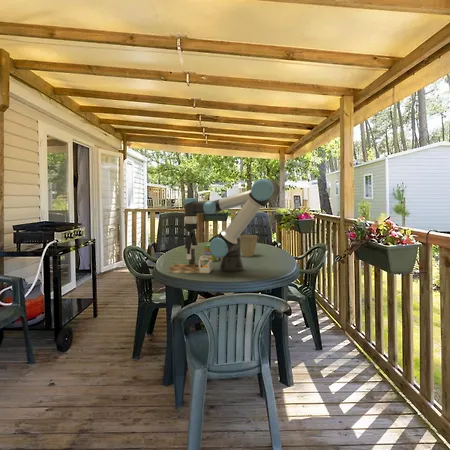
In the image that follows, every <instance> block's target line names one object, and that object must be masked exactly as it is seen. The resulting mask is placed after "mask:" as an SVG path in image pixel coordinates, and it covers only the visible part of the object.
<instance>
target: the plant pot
mask: <svg viewBox="0 0 450 450" xmlns="http://www.w3.org/2000/svg"><path fill="white" fill-rule="evenodd" d="M240 239H241V254H242V256H243V257H244V258H251V257H253V256H254V253H255V250H256V247H257V242H258V241H257V240H258V235H255V234H240Z"/></svg>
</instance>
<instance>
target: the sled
mask: <svg viewBox="0 0 450 450" xmlns="http://www.w3.org/2000/svg"><path fill="white" fill-rule="evenodd" d="M187 264H188V267H196V265H197V262H196V256H195V248H192V247H191V259H188V263H187Z"/></svg>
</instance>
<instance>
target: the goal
mask: <svg viewBox="0 0 450 450" xmlns="http://www.w3.org/2000/svg"><path fill="white" fill-rule="evenodd" d="M205 257H208V258H205ZM209 258H211V256H205V255H201V256H200V257H198V265H199V268H200V273H199V274H210V273H211V272H212V271H213V261H212V260H210V261H207V265H208V268H207V267H201V265H203V266H204V265H205V263H204V262H205V260H209Z"/></svg>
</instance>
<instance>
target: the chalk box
mask: <svg viewBox="0 0 450 450" xmlns="http://www.w3.org/2000/svg"><path fill="white" fill-rule="evenodd" d="M204 256H211V258H209V260H204V262H209V261H210V260H212V263H213V262H218V261H220V260H221V257H216V256H214V255H213V254H212V252H211V250H210V243H208V244H205V245H204ZM204 258H208V257H204Z"/></svg>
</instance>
